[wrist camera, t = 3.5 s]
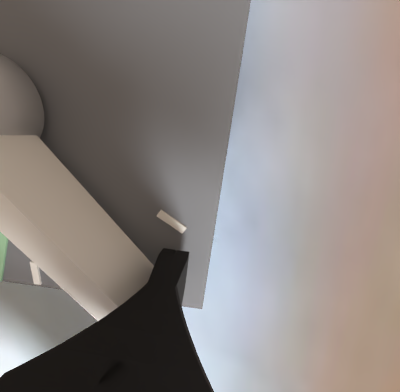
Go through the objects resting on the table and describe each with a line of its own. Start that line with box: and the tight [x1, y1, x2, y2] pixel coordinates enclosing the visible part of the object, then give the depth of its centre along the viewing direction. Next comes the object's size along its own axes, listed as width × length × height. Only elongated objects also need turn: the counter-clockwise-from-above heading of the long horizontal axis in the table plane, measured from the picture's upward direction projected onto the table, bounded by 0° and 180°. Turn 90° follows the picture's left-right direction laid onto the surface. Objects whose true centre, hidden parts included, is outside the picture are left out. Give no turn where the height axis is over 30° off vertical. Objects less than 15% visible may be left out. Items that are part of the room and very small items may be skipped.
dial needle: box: [0, 54, 154, 321], centre depth 7 cm, size 13×4×4 cm, turn 35°
